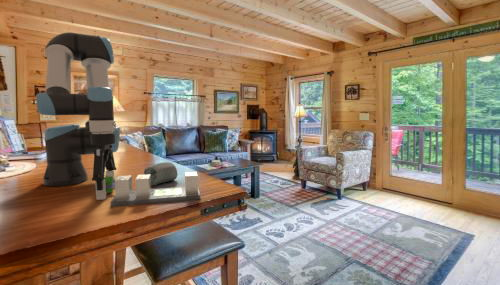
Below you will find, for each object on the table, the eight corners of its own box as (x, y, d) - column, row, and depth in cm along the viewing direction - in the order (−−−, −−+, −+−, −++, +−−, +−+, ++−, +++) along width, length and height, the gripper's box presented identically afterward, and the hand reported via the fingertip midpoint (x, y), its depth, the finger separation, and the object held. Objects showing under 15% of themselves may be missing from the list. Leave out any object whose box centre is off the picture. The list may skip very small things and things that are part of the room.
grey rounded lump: (152, 181, 98) (150, 156, 102) (139, 188, 103) (138, 164, 107) (183, 182, 108) (181, 160, 112) (170, 189, 113) (168, 167, 117)
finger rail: (118, 195, 92) (117, 174, 91) (197, 189, 99) (197, 170, 98) (110, 206, 81) (109, 182, 80) (200, 199, 88) (199, 177, 87)
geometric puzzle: (117, 190, 91) (116, 169, 94) (94, 193, 87) (93, 171, 91) (117, 197, 96) (116, 177, 99) (95, 200, 93) (95, 179, 96)
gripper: (105, 135, 80) (109, 203, 83) (121, 130, 104) (124, 183, 107) (77, 136, 78) (82, 206, 81) (100, 130, 102) (103, 184, 105)
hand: (106, 193), depth 94 cm, fingers open, 12 cm apart
